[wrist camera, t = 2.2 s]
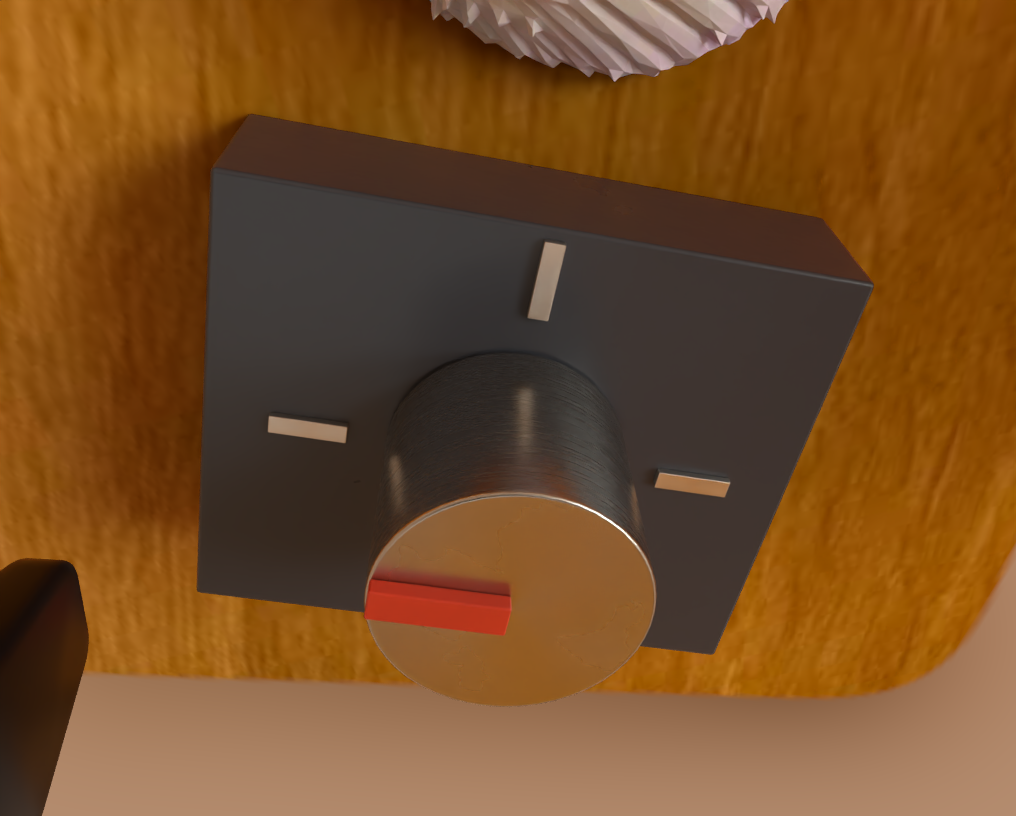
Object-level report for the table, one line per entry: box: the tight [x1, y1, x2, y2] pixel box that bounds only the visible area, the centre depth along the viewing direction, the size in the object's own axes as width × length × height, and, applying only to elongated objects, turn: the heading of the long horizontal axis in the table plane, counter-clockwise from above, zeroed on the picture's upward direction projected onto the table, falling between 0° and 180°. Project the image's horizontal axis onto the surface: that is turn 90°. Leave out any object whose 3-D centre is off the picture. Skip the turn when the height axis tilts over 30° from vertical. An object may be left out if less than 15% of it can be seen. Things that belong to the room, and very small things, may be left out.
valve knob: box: [364, 353, 657, 707], centre depth 16 cm, size 4×4×4 cm
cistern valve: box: [197, 114, 874, 654], centre depth 19 cm, size 11×9×3 cm
